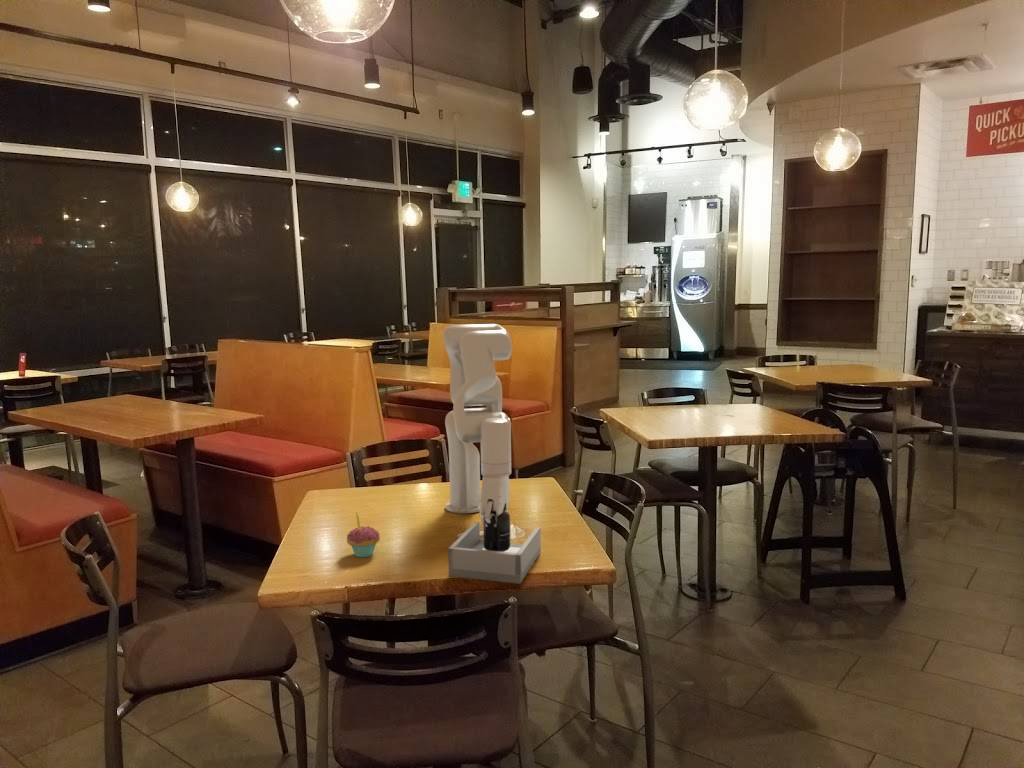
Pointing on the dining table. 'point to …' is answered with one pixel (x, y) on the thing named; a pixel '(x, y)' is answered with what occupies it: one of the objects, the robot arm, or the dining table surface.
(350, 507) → the dining table surface
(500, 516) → the supplement bottle
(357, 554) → the cupcake
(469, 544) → the dock
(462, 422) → the robot arm
